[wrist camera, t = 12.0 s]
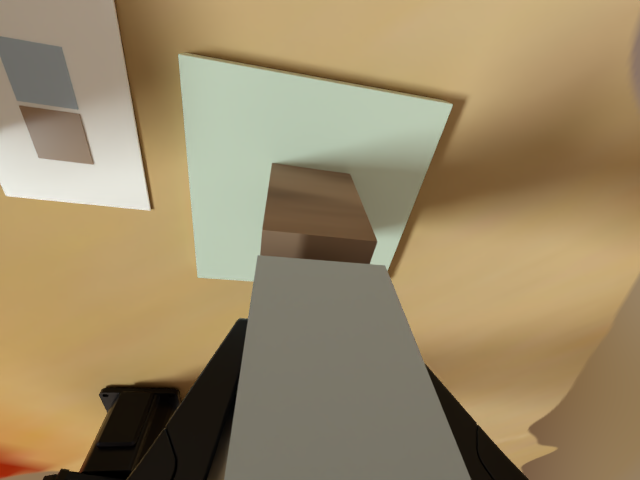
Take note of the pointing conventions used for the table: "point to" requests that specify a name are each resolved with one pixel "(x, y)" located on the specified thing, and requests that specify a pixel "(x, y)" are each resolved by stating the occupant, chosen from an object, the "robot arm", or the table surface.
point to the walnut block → (315, 217)
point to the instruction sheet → (67, 106)
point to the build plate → (295, 151)
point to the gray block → (334, 381)
